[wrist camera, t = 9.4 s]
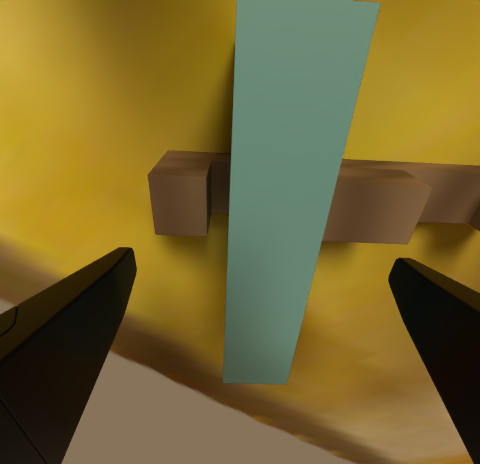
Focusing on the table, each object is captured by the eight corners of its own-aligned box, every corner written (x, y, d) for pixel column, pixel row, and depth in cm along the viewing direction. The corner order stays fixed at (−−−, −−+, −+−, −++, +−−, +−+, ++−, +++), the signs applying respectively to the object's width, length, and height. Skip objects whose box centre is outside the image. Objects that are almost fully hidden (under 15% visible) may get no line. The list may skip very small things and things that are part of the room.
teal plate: (237, 33, 12) (237, -8, 6) (302, 38, 13) (380, 2, 6) (228, 272, 20) (222, 382, 13) (269, 274, 20) (286, 384, 13)
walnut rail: (517, 167, 16) (594, 195, 12) (490, 213, 17) (552, 250, 14) (168, 150, 15) (147, 174, 12) (172, 200, 17) (155, 234, 13)
